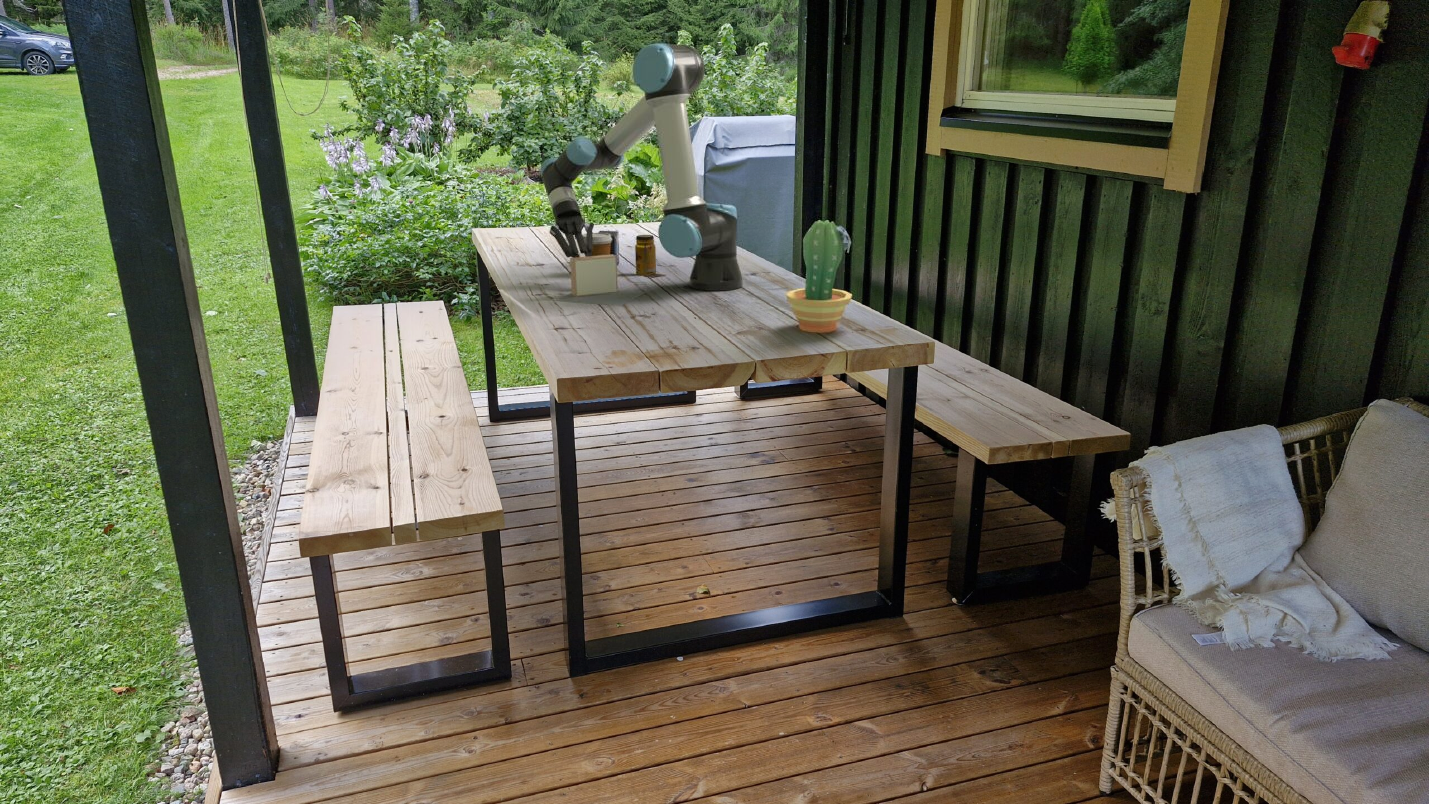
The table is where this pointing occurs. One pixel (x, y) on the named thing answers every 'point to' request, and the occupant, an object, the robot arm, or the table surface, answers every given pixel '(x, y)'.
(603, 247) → the disposable coffee cup
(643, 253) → the condiment
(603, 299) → the mat
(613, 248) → the small box
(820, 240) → the potted cactus
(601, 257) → the tile
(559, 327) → the table surface
